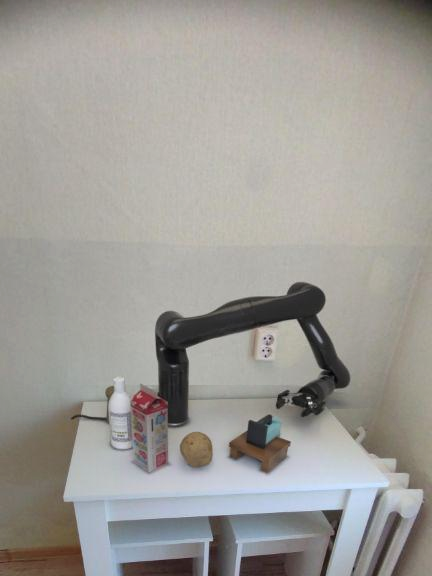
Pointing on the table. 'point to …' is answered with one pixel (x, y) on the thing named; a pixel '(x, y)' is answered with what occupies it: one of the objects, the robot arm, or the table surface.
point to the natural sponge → (196, 449)
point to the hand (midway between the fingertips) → (289, 410)
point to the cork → (109, 393)
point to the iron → (263, 431)
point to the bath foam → (120, 416)
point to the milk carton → (149, 429)
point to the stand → (260, 451)
